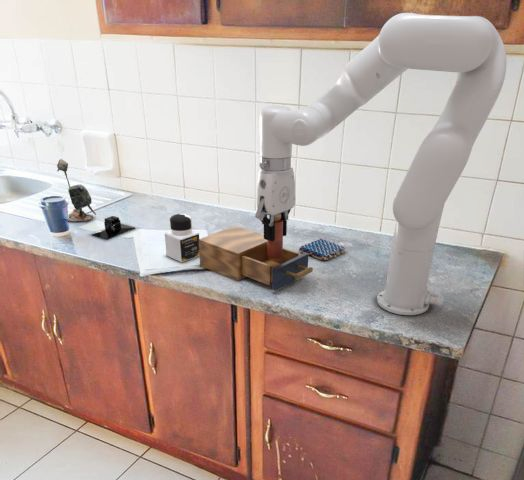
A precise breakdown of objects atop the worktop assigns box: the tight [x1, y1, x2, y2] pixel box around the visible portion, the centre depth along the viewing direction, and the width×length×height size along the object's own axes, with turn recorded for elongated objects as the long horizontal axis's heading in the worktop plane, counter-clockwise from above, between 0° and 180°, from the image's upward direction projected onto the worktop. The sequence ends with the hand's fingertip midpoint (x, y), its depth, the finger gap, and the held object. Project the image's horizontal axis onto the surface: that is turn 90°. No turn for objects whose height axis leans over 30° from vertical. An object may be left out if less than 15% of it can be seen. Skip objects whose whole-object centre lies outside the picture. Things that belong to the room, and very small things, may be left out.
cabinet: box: [198, 225, 267, 282], centre depth 144 cm, size 15×15×8 cm
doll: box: [267, 213, 284, 259], centre depth 132 cm, size 4×4×12 cm
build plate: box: [91, 215, 136, 241], centre depth 165 cm, size 12×7×5 cm, turn 147°
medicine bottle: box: [164, 213, 200, 263], centre depth 147 cm, size 7×7×12 cm
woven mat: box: [298, 238, 346, 261], centre depth 154 cm, size 10×11×2 cm
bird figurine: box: [56, 158, 97, 222], centre depth 170 cm, size 8×11×20 cm
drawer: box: [240, 245, 314, 292], centre depth 136 cm, size 18×14×6 cm
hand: (275, 236), depth 132 cm, fingers closed on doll, 4 cm apart
